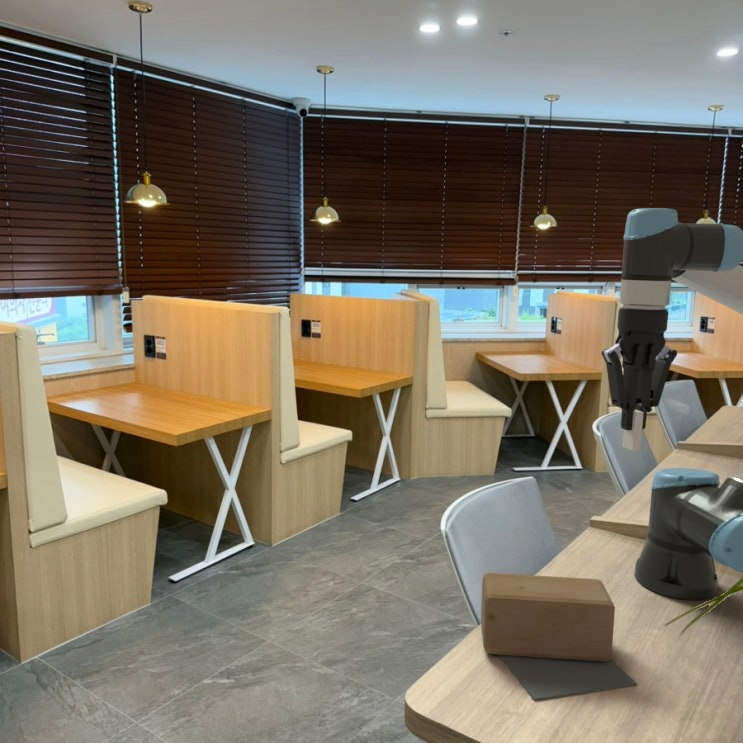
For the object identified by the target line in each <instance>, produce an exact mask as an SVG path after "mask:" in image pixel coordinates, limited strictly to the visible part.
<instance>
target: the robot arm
mask: <svg viewBox="0 0 743 743" xmlns="http://www.w3.org/2000/svg"><path fill="white" fill-rule="evenodd" d="M625 222H626V223H625V229H624V235H623V253H622V267H621V280H620V291H619V292H620V293H619V303H620V304H621V305H622V306H621V307H619V309H618V314H617V325H616V326H617V330H618V331H617V332H618V333H617V337H616V339H615V341H614V342H615V344H614V345H613V346H611V347H609V349H606V348H604V349H602V350H601V356H602V358H603V359H604V362H605V364H606V366H605V367H606V373H607V380H608V386H609V394H610V402H611V405H612V406H614V407H617V408H619V409H621V417H620V418H621V419H620V420H621V421H620V428H621V429H623V435H622V437H623V438H622V447H623V448H625V449H627V450H629V451H632V452H634V451H635V452H636V451H641V444H642V436H643V435H642V434H643V430H645V429H646V426H647V418H648V417H647V415H648V413H651V412H652V411H653V407H654V408H656V407H659V405H660V402H661V398H662V395H663V392H664V388H665V385H666V382H667V378H668V375H669V373H670V369H671V365H672V363H673V362H674V360H675V359H676V357H677V355H678V351H677V350H676V349H671V348H670V347H669V346H667V345H666V338H665V332H666V331H667V329H668V319H669V311H668V309H667V308H666V307H668V306H669V305H670V304H671V303H670V302H671V289H672V280H673V281H675V282H676V283H678V284H680V285H682V286H685V287H686V288H688V289H690V290H693V291H694V292H697V293H698V294H701V296H704V297H706V298H708V299H710V300H712V301H715V302H716V303H718V304H720V305H722V306H725V307H726V308H728V309H730V310H732V311H735V312H736V313H738V314H740V315H742V316H743V266H741V265H740V264H741V263H742V261H743V229H741V228H740V227H739V226H737V225H733V224H724V223H722V222H720V223H691V222H690V223H688V222H687V223H684V222H679V219H678V212H677V210H676V209H674V208H664V207H663V208H662V207H659V208H658V207H655V208H654V207H653V208H651V207H645V208H636V209H635V208H634V209H633V210H630V212H628V214H627V217H626V221H625ZM621 359H622V361H621ZM720 484H721V482H720V475H718V474H717V473H715V472H714V471H710V470H704V469H700V468H699V469H698V468H691V467H688V468H687V467H668V468H662V469H659V470H657V471H656V472H655V473H654V476H653V479H652V485H651V487H650V490H651V493H650V494H651V497H650V507H649V517H648V518H649V519H648V530H647V538H646V541H645V544H644V545H643V548H642V549H641V552H640V554H639V557H638V558H637V560H636V561H635V567H634V578H635V579H636V581H637V582H638V583H639V584H640V585H642V586H643V587H644V588H646V589H649V590H650V591H653V592H654V593H657V594H660V595H662V596H666V597H670V598H674V599H680V600H689V601H694V600H695V601H699V600H705V599H709V598H712V597H713V596H715V595H716V594H717V591H718V584H719V578H718V574H717V570H716V566H715V562H714V560H715V561H716V562H718V563H719V564H721V565H723V566H725V567H729V568H730V569H732V570H734V571H736V572H738V573H742V574H743V472H742V473H740V474H735V475H729V476H727V478H726V479H725V480H724V481H723V483H722V484H721V485H720ZM719 486H720V487H719Z"/></svg>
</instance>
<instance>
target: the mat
mask: <svg viewBox="0 0 743 743" xmlns="http://www.w3.org/2000/svg"><path fill="white" fill-rule="evenodd" d="M498 655H499V657H500V658H501V659H502V661H503V663H505V664H506V665H507V668H508V669H509V670H510V671H511V672H512V673H513V675H514V676H515V677H516V679H517V680H518V681H519V683H520V684H521V686H522V687H523V688H524V689H525V691H526V692H527V694H528V695H529V696H530V698H532V701H541V700H548V699H554V698H560V697H567V696H574V695H581V694H586V693H596V692H601V691H607V690H608V691H609V690H613V689H620V688H621V689H622V688H626V687H633V686H637V685H638V683H637V682H636V681H635V680H634V679H633V678H632V677H631V676H630V675H629V674H628V673H627V672H625V670H624V669H623V668H622V667H621V666H620V665H618V663H617V662H615V661H614V660H613V659H612V658H611V659H610V661H607V662H603V661H589V660H574V659H560V658H545V657H530V656H516V655H501V654H498Z"/></svg>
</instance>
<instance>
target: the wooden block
mask: <svg viewBox="0 0 743 743" xmlns="http://www.w3.org/2000/svg"><path fill="white" fill-rule="evenodd" d="M481 586H482V587H481V608H480V611H481V612H480V625H481V626H480V627H481V635H482V643H483V644H482V645H483V649H484V651H485V653H487V654H490V655H499V654H501V655H516V656H530V657H545V658H560V659H574V660H589V661H603V662H607V661H610V659H612V657H613V656H612V655H613V644H614V643H613V641H614V626H615V625H614V624H615V611H616V610H615V609H616V607H615V605H614V604H615V603H614V602H613V600H612V598H611V596H610V595H609V592H608V591H607V589H606V587H605V585H604V584H603V581H602V580H600V579H598V578H585V577H584V578H582V577H565V576H564V577H562V576H550V575H548V576H547V575H530V574H516V573H515V574H512V573H497V572H496V573H495V572H486V573H484V574H483V576H482V582H481Z"/></svg>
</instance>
